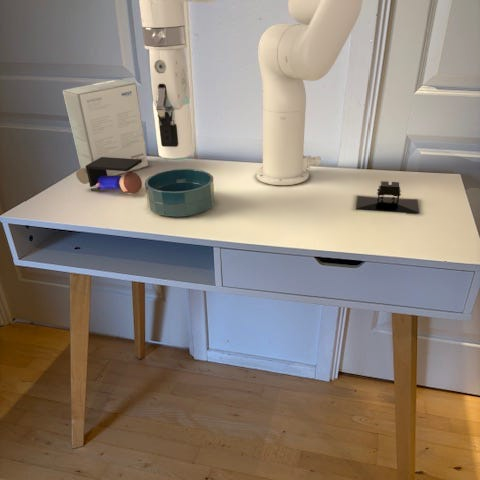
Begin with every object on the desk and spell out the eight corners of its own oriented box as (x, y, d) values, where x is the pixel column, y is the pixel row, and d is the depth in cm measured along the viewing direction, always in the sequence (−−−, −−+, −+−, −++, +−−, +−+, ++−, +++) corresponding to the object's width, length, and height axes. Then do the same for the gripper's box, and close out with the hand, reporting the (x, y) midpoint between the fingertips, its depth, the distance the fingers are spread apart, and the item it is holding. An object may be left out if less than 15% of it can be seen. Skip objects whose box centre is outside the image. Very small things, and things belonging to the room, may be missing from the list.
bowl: (202, 188, 113) (200, 165, 110) (224, 211, 103) (223, 185, 99) (142, 199, 109) (138, 174, 106) (157, 223, 99) (154, 197, 95)
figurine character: (80, 198, 115) (134, 199, 109) (70, 165, 110) (125, 164, 104) (98, 188, 120) (150, 188, 114) (89, 156, 115) (142, 155, 109)
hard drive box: (133, 160, 132) (120, 78, 120) (149, 166, 127) (138, 82, 116) (80, 174, 124) (61, 88, 112) (95, 182, 119) (77, 93, 107)
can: (186, 163, 96) (180, 97, 89) (153, 160, 98) (145, 95, 91) (198, 152, 102) (194, 89, 95) (167, 150, 103) (160, 88, 97)
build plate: (417, 201, 104) (421, 179, 102) (418, 215, 99) (423, 192, 96) (357, 197, 107) (360, 176, 104) (355, 210, 101) (358, 188, 99)
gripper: (173, 44, 80) (183, 154, 91) (195, 32, 94) (202, 129, 105) (129, 44, 81) (144, 153, 92) (157, 33, 95) (167, 128, 106)
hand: (174, 139), depth 98 cm, fingers closed on can, 7 cm apart
